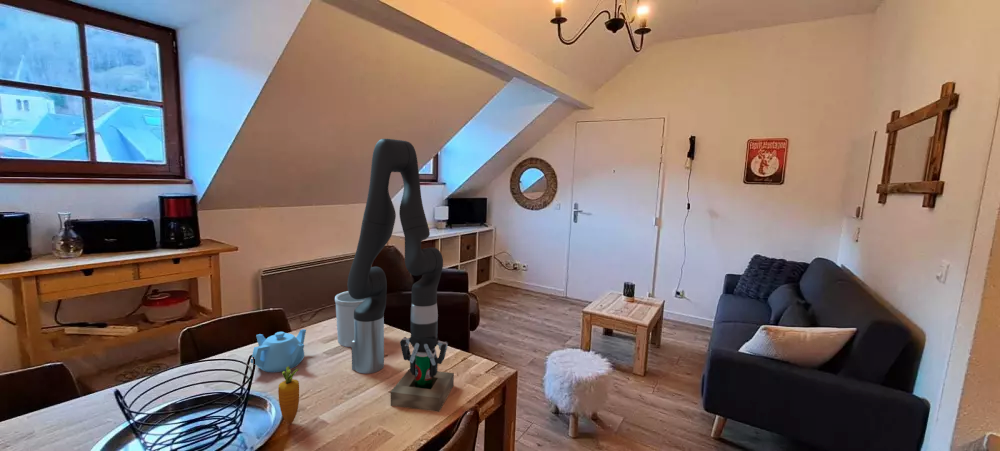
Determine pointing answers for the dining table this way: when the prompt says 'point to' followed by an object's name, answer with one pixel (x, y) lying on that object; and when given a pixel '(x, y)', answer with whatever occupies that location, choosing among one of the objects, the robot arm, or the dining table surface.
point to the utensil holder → (346, 317)
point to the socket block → (422, 392)
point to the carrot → (289, 396)
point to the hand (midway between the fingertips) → (423, 374)
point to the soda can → (423, 370)
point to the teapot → (279, 351)
